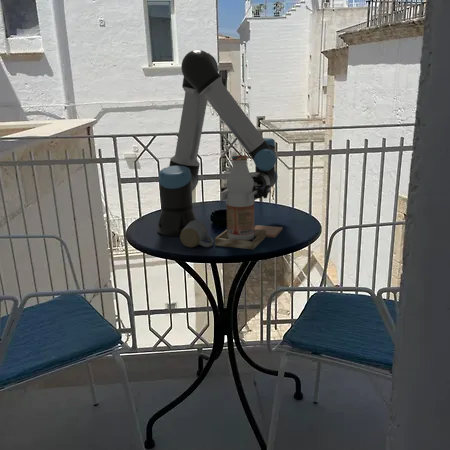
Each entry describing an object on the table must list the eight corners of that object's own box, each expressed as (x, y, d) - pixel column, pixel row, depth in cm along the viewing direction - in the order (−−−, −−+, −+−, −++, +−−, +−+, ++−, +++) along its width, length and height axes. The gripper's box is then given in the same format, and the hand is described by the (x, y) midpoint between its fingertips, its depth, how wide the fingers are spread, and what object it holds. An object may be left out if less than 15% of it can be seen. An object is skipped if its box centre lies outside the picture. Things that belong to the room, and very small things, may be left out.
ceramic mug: (179, 248, 153) (177, 226, 150) (187, 240, 160) (186, 219, 158) (209, 250, 150) (208, 228, 148) (216, 242, 158) (215, 221, 155)
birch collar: (215, 245, 154) (214, 238, 153) (230, 233, 166) (229, 226, 165) (253, 249, 149) (253, 242, 148) (265, 236, 161) (265, 230, 160)
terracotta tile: (247, 235, 164) (247, 232, 163) (256, 227, 172) (256, 225, 172) (274, 237, 160) (274, 235, 160) (282, 229, 169) (282, 227, 169)
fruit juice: (222, 239, 155) (220, 157, 147) (235, 231, 163) (233, 153, 155) (247, 243, 151) (246, 158, 143) (259, 235, 159) (259, 154, 151)
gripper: (285, 196, 166) (267, 211, 146) (229, 192, 174) (205, 206, 154) (286, 175, 164) (267, 188, 144) (229, 172, 172) (204, 184, 152)
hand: (235, 197), depth 149 cm, fingers closed on fruit juice, 9 cm apart
